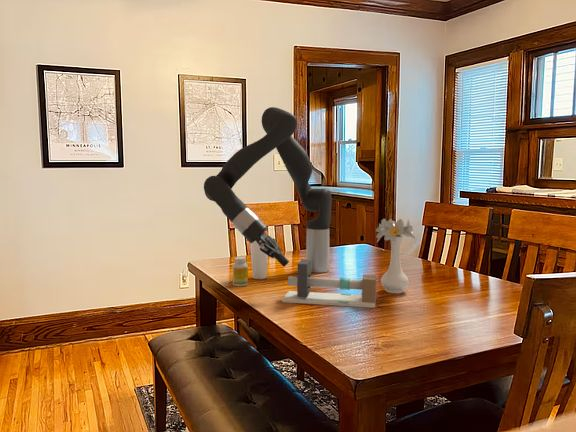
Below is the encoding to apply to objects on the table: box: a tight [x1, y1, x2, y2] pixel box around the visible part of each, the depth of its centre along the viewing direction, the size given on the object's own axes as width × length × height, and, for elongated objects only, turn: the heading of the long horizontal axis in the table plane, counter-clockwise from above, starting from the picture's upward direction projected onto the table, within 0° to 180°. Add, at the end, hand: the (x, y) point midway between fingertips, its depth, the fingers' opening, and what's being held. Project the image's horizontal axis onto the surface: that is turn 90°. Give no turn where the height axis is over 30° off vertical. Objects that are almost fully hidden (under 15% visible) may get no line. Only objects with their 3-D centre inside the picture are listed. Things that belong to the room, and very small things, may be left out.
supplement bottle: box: [232, 256, 249, 287], centre depth 177 cm, size 5×5×10 cm
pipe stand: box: [281, 274, 377, 309], centre depth 157 cm, size 28×11×8 cm, turn 79°
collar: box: [296, 258, 312, 297], centre depth 158 cm, size 3×8×10 cm, turn 169°
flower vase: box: [375, 218, 417, 294], centre depth 168 cm, size 13×18×25 cm
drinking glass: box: [249, 241, 269, 280], centre depth 187 cm, size 7×7×15 cm
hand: (286, 264), depth 159 cm, fingers closed
